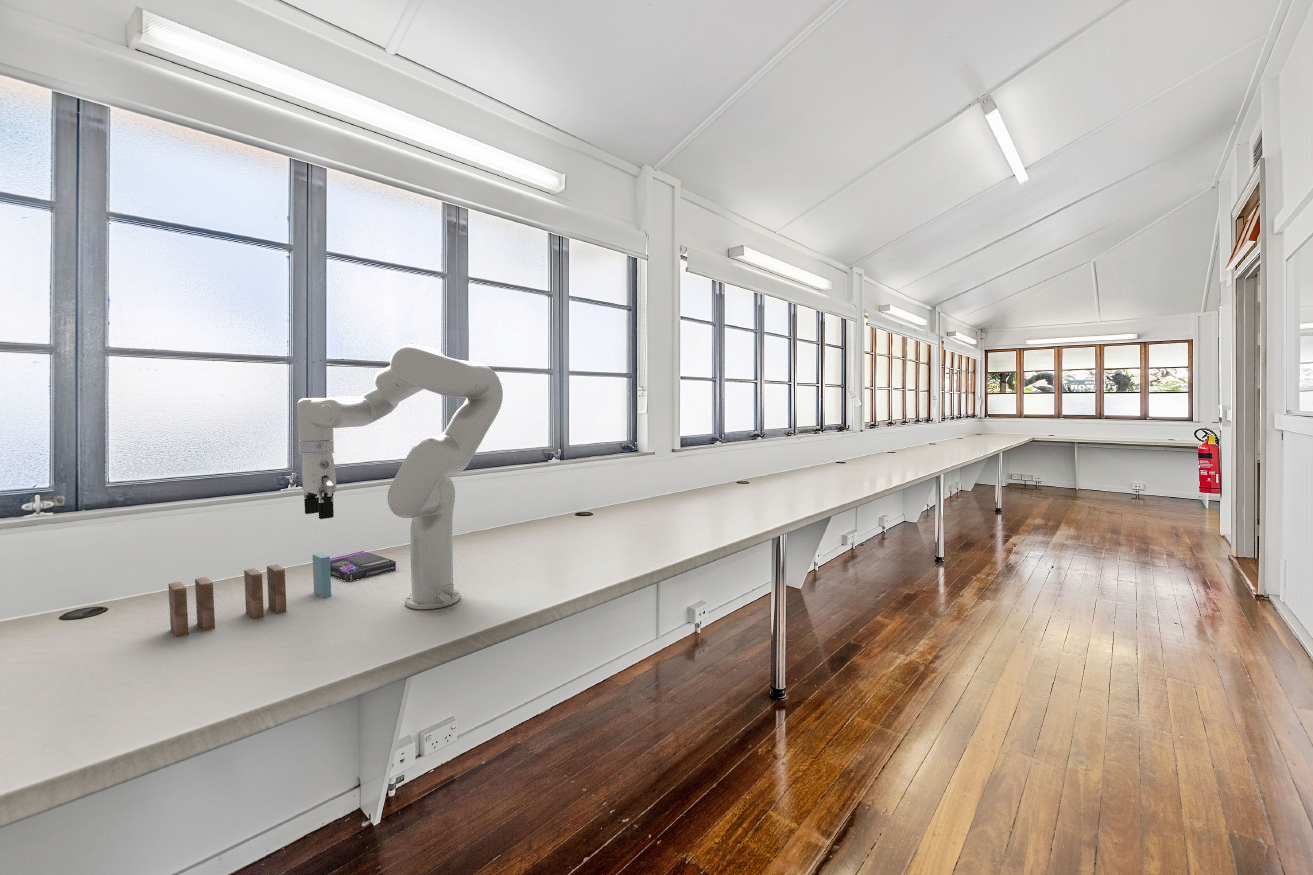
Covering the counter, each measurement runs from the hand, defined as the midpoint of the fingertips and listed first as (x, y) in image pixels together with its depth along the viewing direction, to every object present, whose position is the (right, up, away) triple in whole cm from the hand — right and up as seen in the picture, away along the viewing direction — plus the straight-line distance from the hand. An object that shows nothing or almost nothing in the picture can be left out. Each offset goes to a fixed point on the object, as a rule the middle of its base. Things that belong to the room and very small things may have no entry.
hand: (319, 515), depth 146 cm
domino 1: (-16, -22, -23) cm, 35 cm away
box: (-2, -20, +22) cm, 30 cm away
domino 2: (-13, -21, -20) cm, 32 cm away
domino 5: (0, -20, +1) cm, 20 cm away
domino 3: (-7, -21, -13) cm, 26 cm away
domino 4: (-4, -21, -10) cm, 23 cm away
